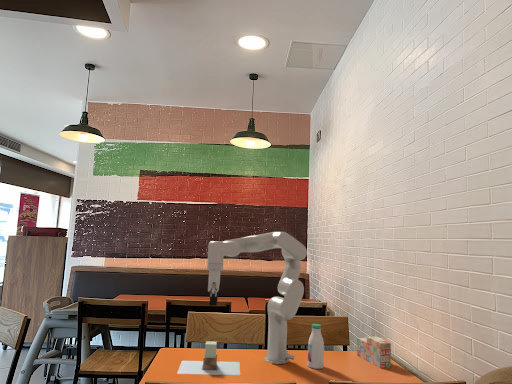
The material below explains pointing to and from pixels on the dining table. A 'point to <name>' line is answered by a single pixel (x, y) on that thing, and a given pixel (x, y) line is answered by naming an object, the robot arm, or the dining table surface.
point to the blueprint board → (197, 368)
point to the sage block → (210, 349)
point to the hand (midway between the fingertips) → (213, 303)
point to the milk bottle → (316, 348)
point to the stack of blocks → (375, 351)
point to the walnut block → (210, 363)
